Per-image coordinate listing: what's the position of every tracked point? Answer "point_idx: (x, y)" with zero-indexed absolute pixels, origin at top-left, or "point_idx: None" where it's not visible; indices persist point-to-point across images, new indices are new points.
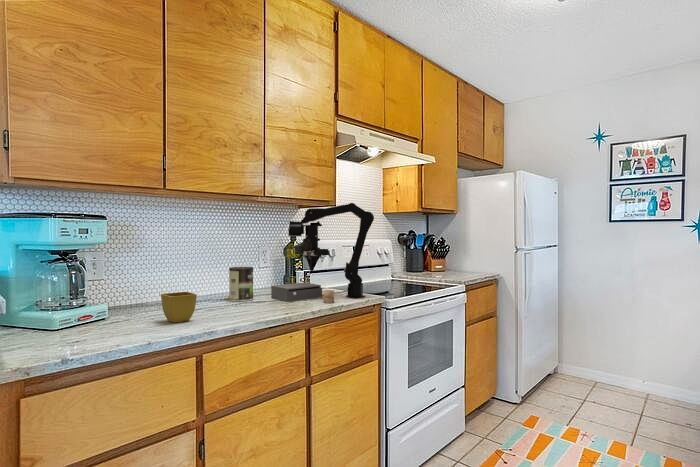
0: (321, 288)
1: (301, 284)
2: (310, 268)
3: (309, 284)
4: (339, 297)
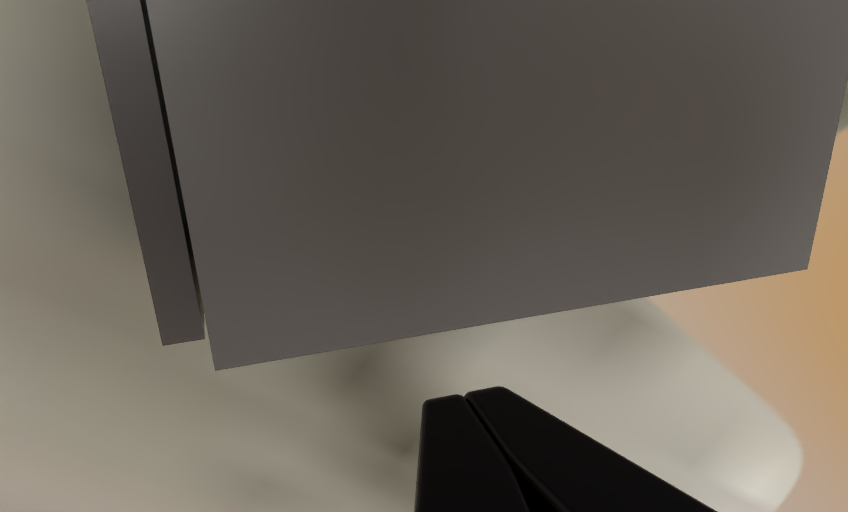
0: (160, 323)
1: (599, 38)
2: (492, 438)
3: (467, 201)
4: (4, 477)
